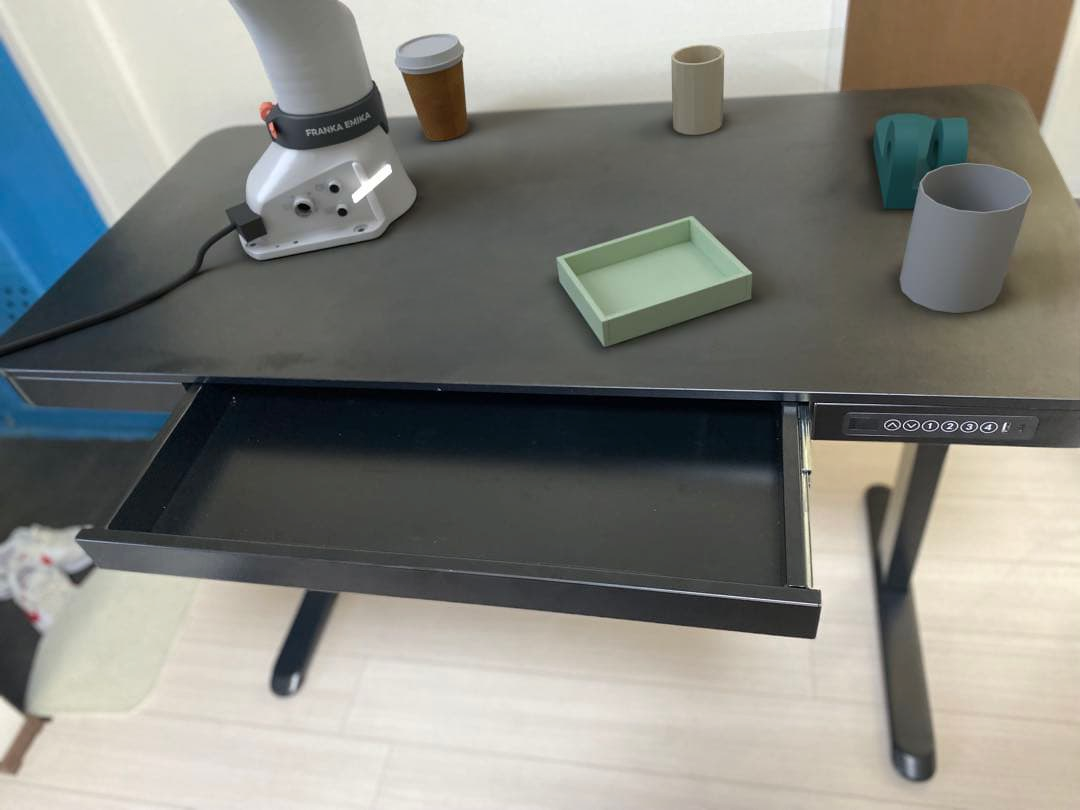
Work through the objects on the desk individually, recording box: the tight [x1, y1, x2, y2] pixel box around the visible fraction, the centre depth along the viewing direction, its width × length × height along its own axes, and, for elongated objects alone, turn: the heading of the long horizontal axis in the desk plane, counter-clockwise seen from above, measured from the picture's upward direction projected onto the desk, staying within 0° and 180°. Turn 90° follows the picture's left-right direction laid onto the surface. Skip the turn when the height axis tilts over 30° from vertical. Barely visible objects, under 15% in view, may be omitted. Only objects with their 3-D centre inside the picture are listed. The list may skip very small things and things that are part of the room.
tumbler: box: [670, 44, 725, 136], centre depth 101 cm, size 6×6×9 cm
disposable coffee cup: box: [394, 33, 469, 142], centre depth 109 cm, size 10×10×12 cm
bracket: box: [872, 112, 969, 210], centre depth 86 cm, size 18×7×8 cm, turn 168°
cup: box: [899, 162, 1033, 314], centre depth 70 cm, size 8×8×10 cm
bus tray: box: [555, 215, 753, 348], centre depth 78 cm, size 15×12×3 cm
